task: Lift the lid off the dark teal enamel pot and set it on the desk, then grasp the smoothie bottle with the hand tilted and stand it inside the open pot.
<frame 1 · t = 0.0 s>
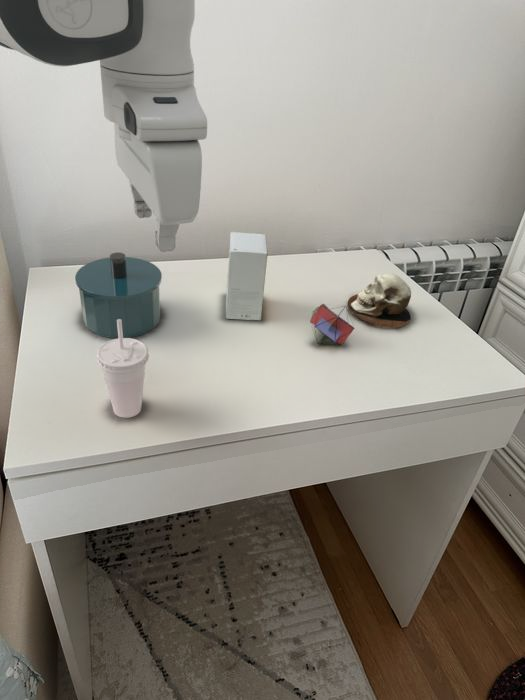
hand: (153, 231, 61), 25 cm above the table, tool pointing down, fingers open, 8 cm apart
small box: (243, 309, 97), on the table
geometric puzzle: (328, 341, 91), on the table
pot: (122, 317, 91), on the table
smoothie: (127, 409, 73), on the table
lid: (119, 278, 87), point 7 cm above the table, touching pot
skull: (378, 312, 100), on the table
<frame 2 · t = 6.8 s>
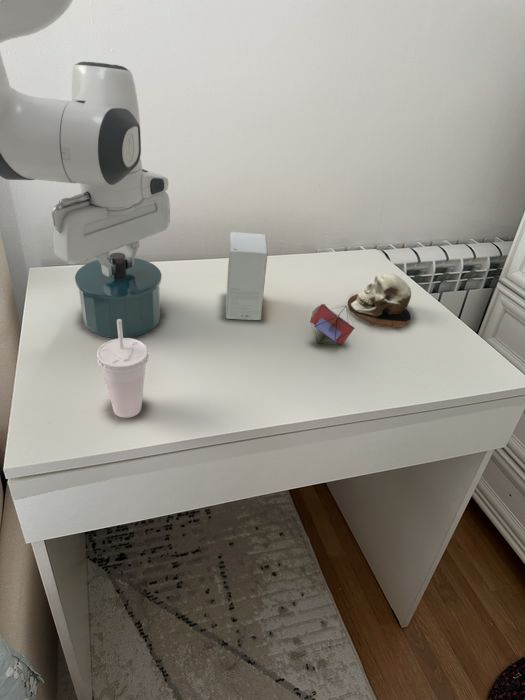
hand: (118, 270, 86), 9 cm above the table, tool pointing down, fingers closed on lid, 2 cm apart
lid: (119, 278, 87), point 8 cm above the table, touching gripper, pot
everything else where it was.
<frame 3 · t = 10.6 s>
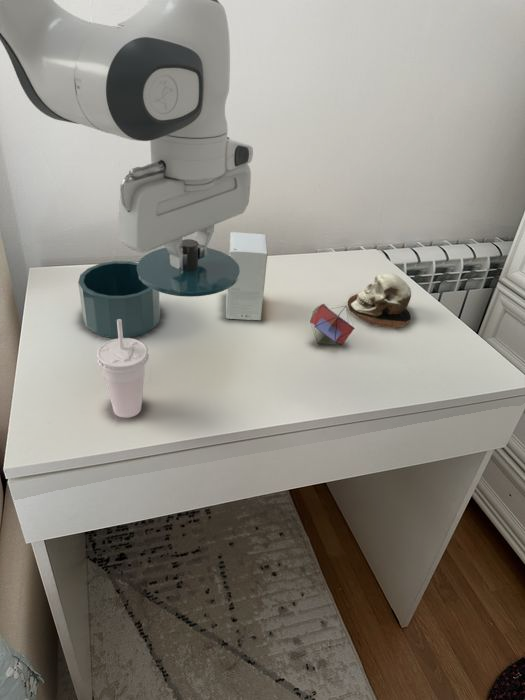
hand: (189, 261, 71), 18 cm above the table, tool pointing down, fingers closed on lid, 2 cm apart
lid: (188, 271, 72), point 17 cm above the table, touching gripper
everything else where it was.
when the fingers open (2 cm above the table, at t = 14.3 s): lid stays where it is, point 1 cm above the table.
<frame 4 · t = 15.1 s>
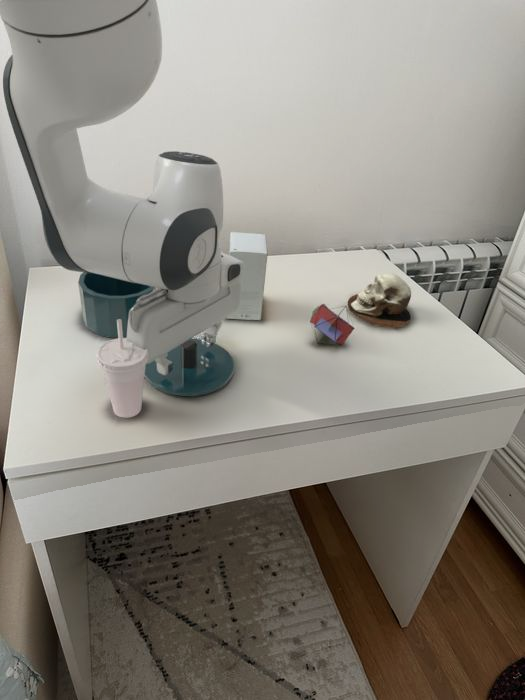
hand: (187, 357, 80), 2 cm above the table, tool pointing down, fingers open, 8 cm apart
lid: (188, 366, 81), point 1 cm above the table
everything else where it was.
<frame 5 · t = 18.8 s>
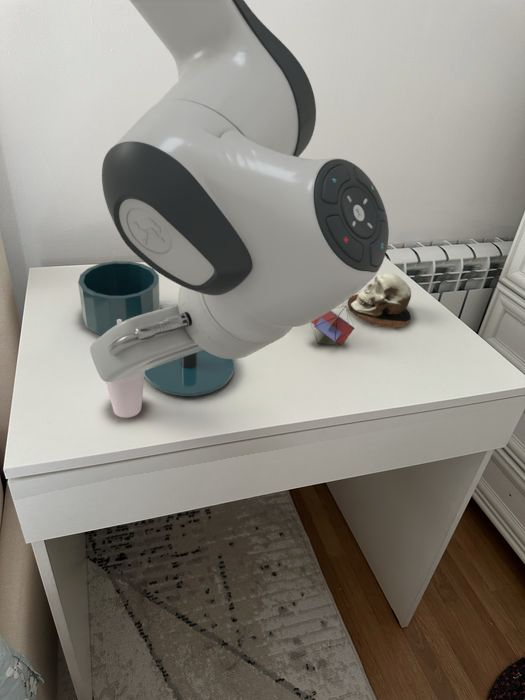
hand: (172, 349, 56), 17 cm above the table, tool tilted 45°, fingers open, 8 cm apart
nothing on the table moved.
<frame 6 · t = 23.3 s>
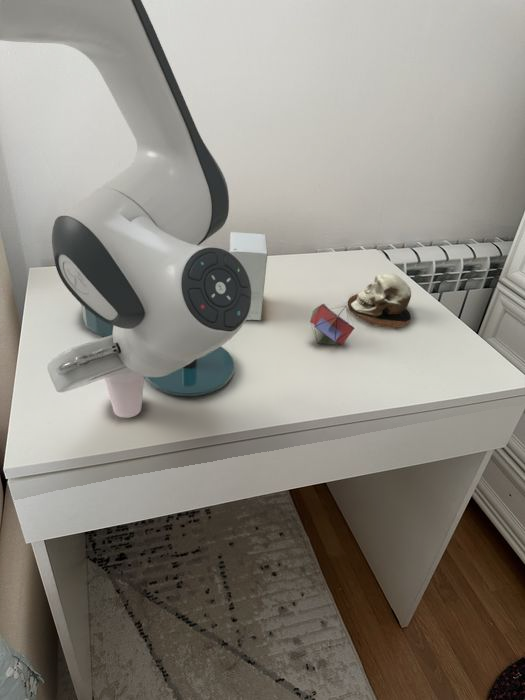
hand: (121, 360, 69), 8 cm above the table, tool tilted 45°, fingers closed on smoothie, 6 cm apart
smoothie: (127, 409, 73), on the table, touching gripper
everything else where it was.
when the fingers open (8 cm above the table, at t = 34.5 s): smoothie stays where it is, resting on pot.
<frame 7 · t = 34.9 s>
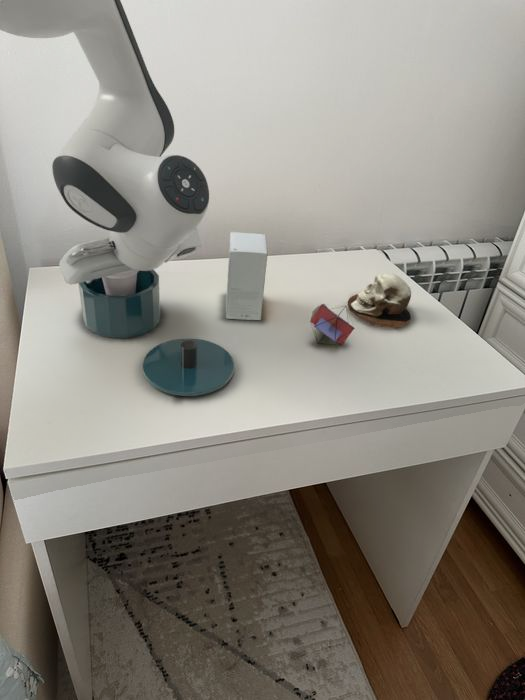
hand: (117, 271, 87), 9 cm above the table, tool tilted 45°, fingers open, 8 cm apart
smoothie: (122, 316, 91), resting on pot
everything else where it was.
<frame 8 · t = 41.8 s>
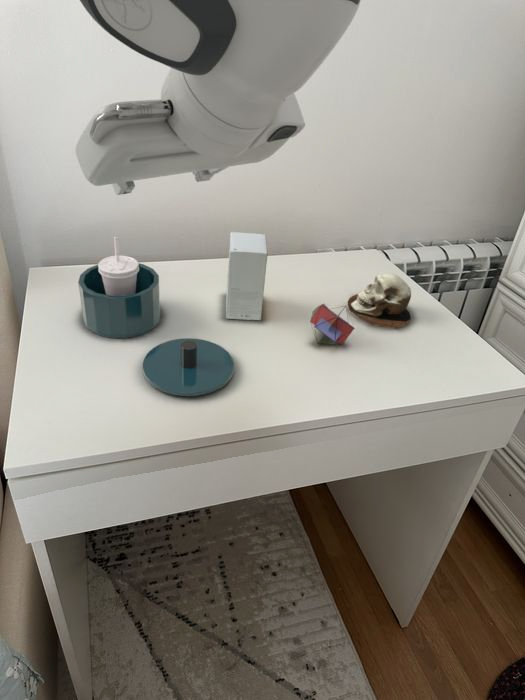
hand: (161, 181, 56), 31 cm above the table, tool tilted 45°, fingers open, 8 cm apart
nothing on the table moved.
at the end: smoothie 0.1 cm off-centre in the pot, point 0.3 cm above the pot's base; smoothie tilted 0°; lid point 0.6 cm above the table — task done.
